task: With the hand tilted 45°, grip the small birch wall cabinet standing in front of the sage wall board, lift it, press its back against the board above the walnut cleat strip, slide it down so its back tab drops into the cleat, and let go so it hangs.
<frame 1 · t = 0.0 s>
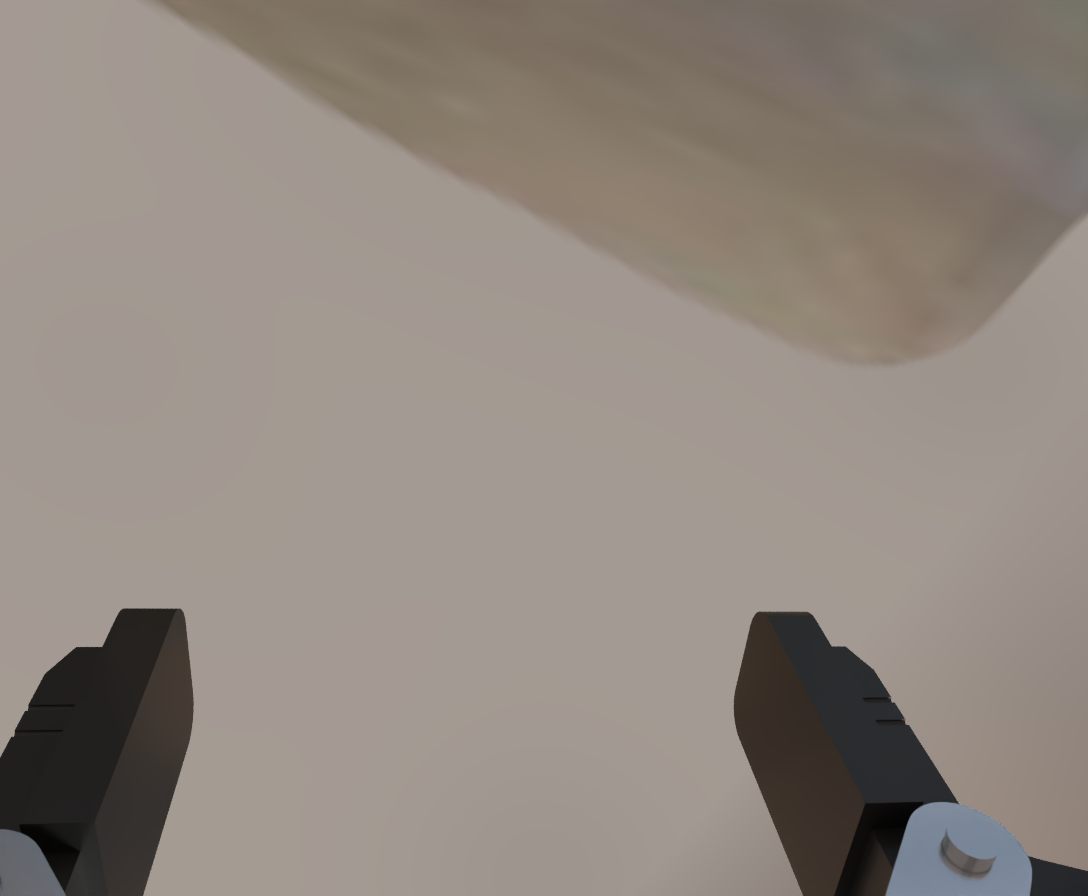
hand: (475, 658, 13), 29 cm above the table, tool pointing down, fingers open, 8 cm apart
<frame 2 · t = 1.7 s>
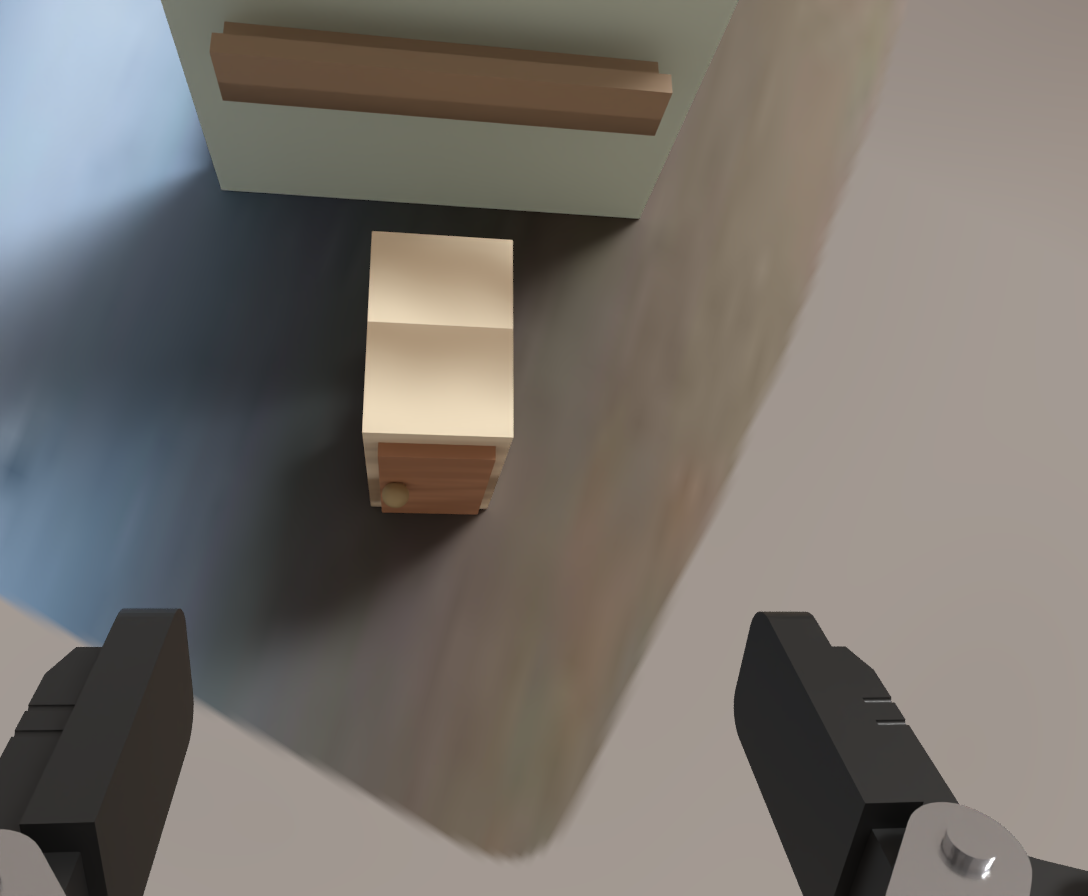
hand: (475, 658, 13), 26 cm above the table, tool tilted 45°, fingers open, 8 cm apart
wall cabinet: (430, 463, 41), on the table
wall board: (437, 204, 45), on the table
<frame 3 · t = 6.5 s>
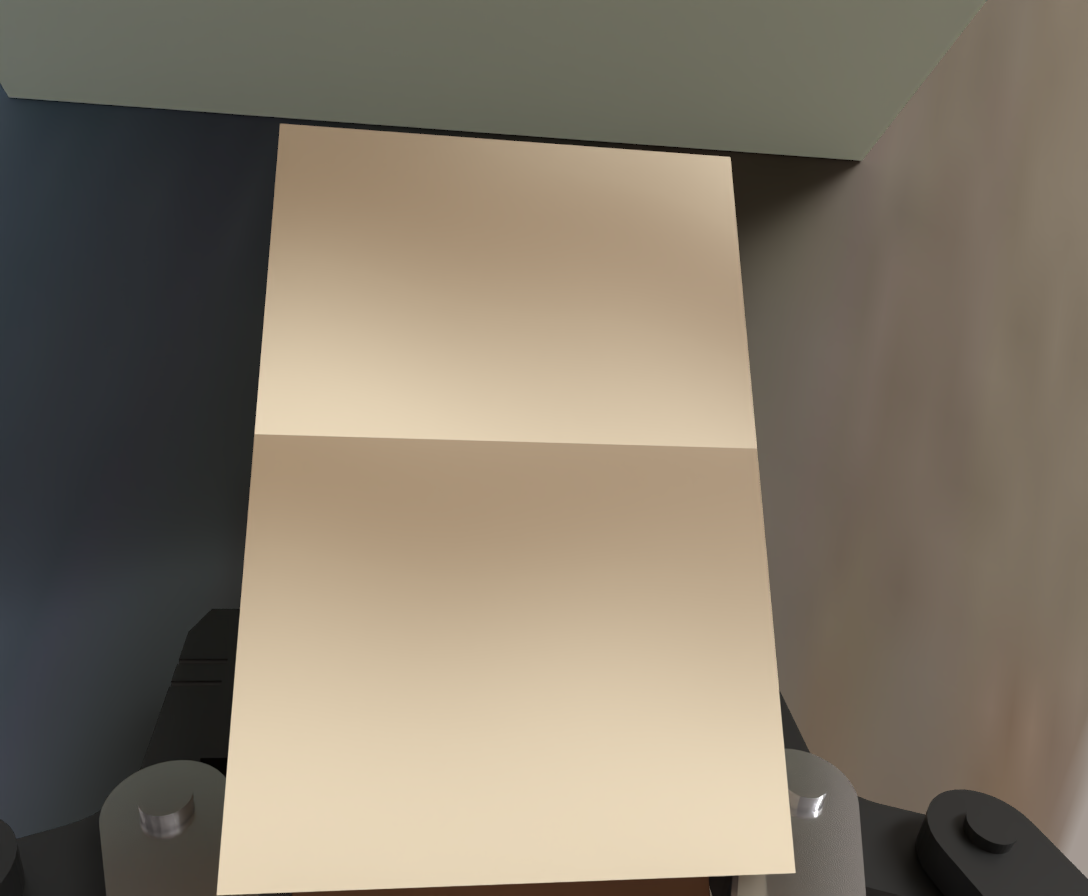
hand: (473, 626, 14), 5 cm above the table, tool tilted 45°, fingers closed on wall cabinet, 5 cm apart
wall cabinet: (457, 701, 18), on the table, touching gripper
wall board: (462, 131, 22), on the table
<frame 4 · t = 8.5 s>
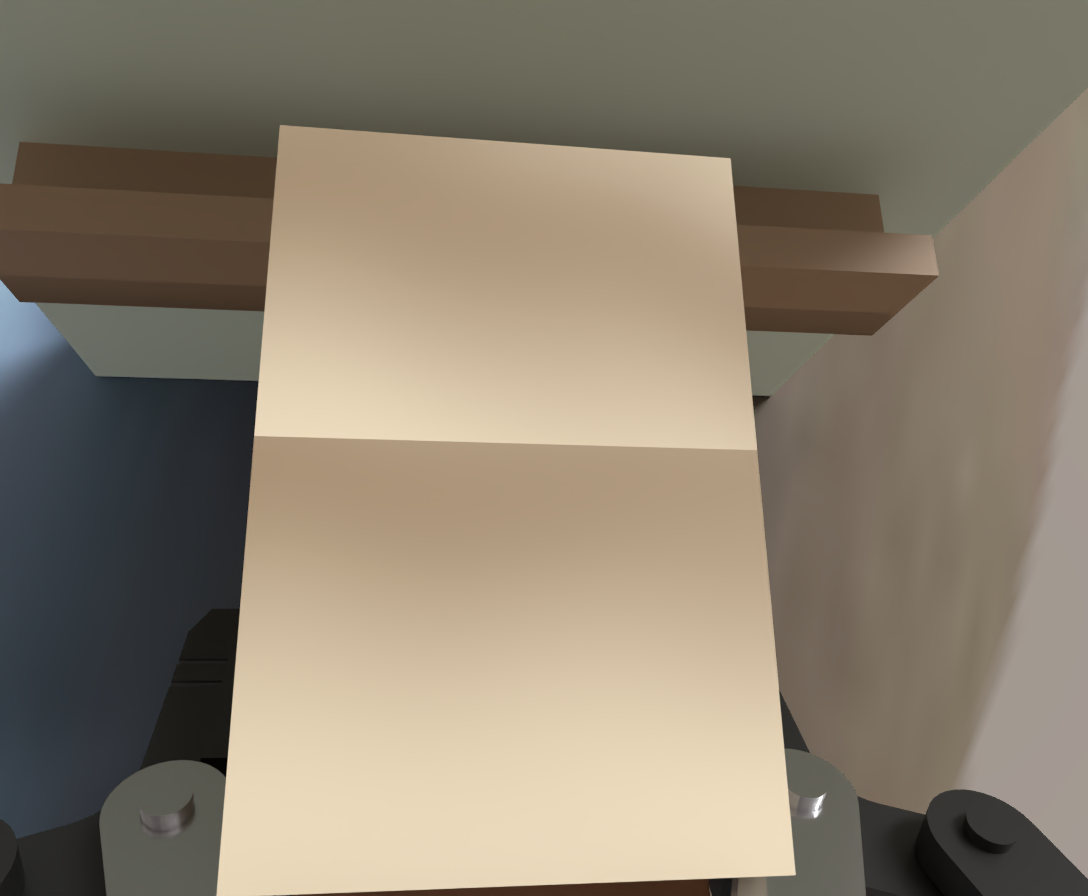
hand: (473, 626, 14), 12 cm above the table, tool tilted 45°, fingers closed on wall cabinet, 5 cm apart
wall cabinet: (457, 702, 18), point 7 cm above the table, touching gripper
wall board: (450, 386, 28), on the table
when the fingers open (9 cm above the table, at t = 11.0 s): wall cabinet stays where it is, resting on wall board.
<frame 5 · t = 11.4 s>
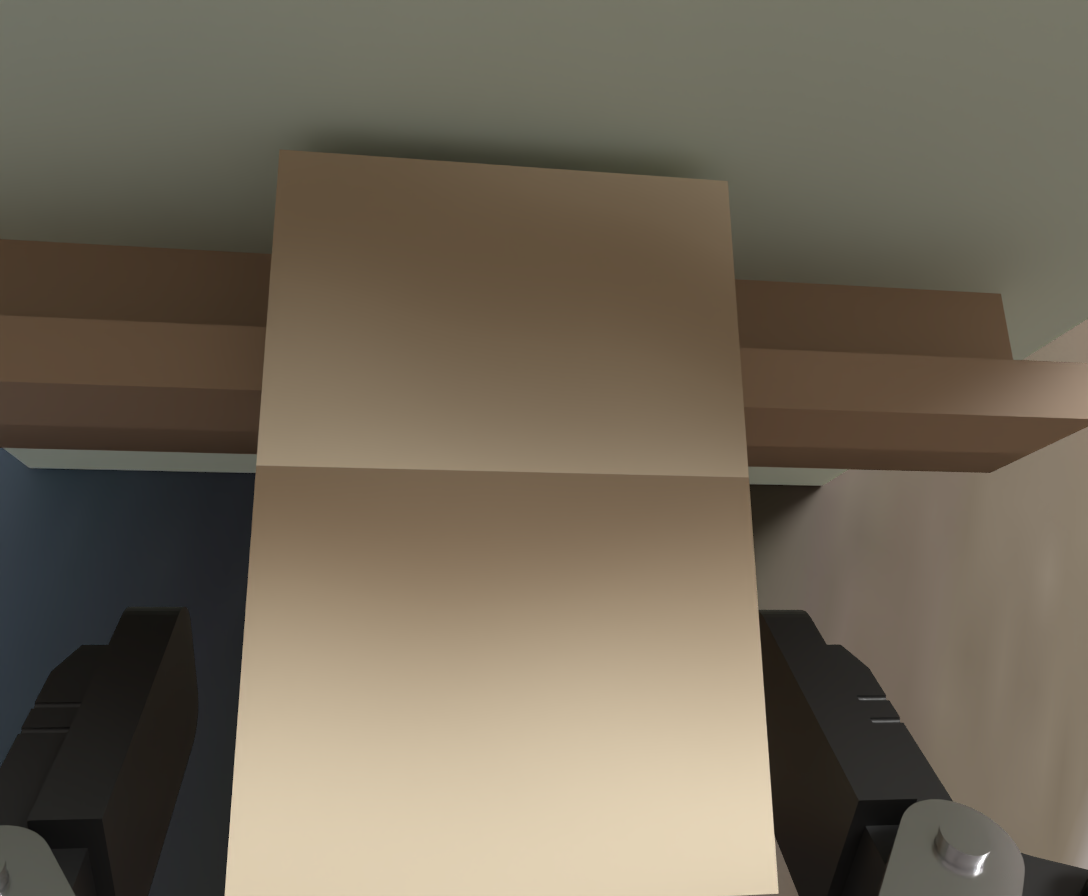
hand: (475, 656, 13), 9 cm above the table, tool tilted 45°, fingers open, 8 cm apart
wall cabinet: (456, 691, 18), point 4 cm above the table, touching wall board
wall board: (449, 477, 24), on the table
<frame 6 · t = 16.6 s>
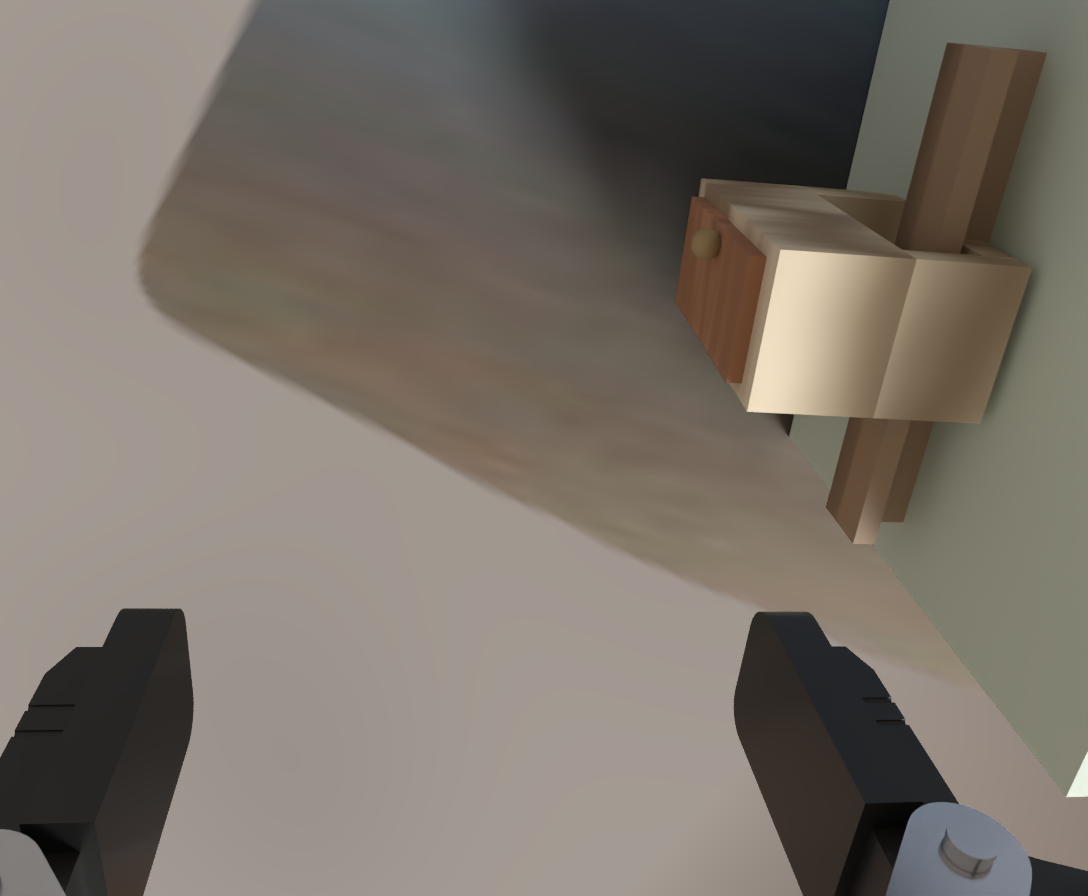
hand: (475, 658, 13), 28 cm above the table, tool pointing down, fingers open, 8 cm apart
wall cabinet: (741, 247, 36), point 4 cm above the table, touching wall board
wall board: (836, 230, 40), on the table
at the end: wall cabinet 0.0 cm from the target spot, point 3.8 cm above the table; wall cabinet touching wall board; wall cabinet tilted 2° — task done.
